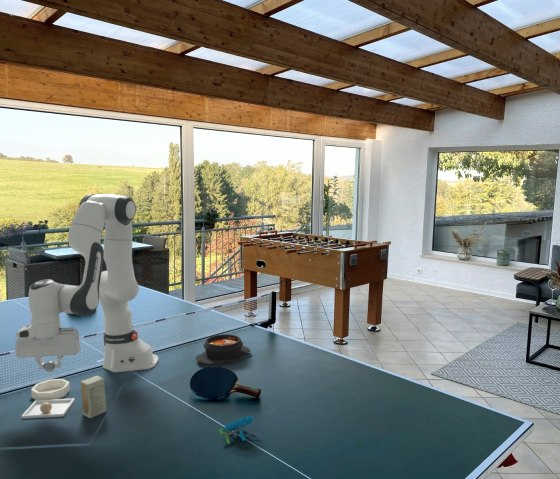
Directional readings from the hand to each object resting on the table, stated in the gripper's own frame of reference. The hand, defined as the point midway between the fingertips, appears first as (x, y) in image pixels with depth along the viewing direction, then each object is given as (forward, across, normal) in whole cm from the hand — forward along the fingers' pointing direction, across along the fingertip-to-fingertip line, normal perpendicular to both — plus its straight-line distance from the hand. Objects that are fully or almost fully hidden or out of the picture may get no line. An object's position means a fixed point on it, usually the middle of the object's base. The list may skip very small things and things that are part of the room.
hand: (50, 367), depth 166 cm
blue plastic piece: (+15, -63, +26) cm, 69 cm away
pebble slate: (+1, 0, 0) cm, 1 cm away
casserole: (+16, -56, -39) cm, 70 cm away
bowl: (+14, +4, -10) cm, 18 cm away
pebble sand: (+13, 0, +6) cm, 14 cm away
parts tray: (+14, 0, +3) cm, 14 cm away
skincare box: (+14, -16, +7) cm, 22 cm away
